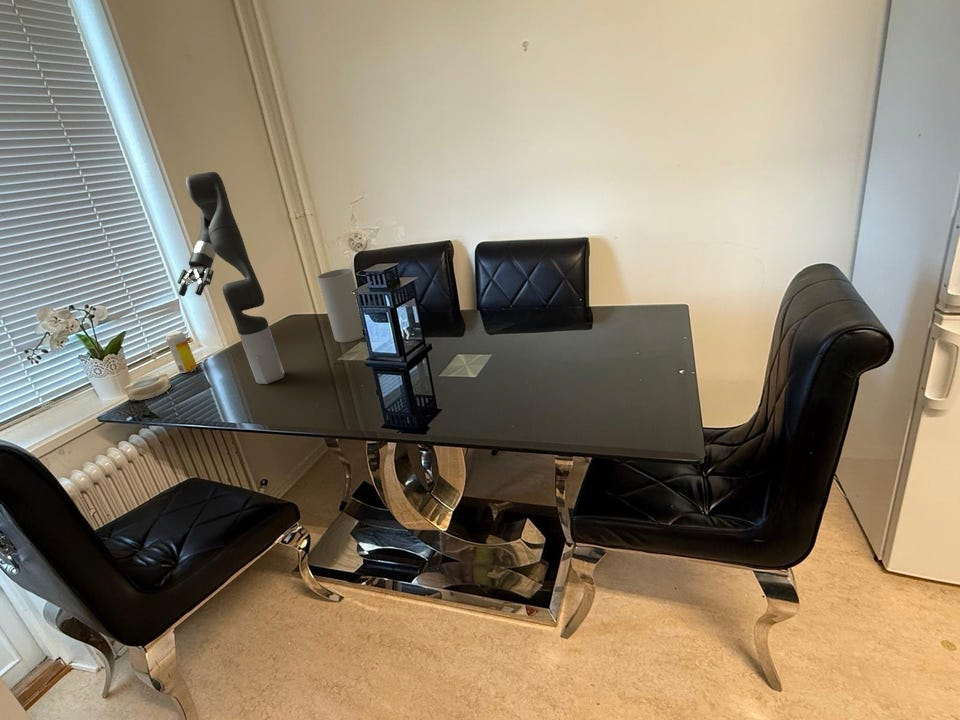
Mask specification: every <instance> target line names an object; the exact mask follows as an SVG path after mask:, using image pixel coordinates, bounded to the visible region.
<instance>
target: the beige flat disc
mask: <svg viewBox="0 0 960 720" xmlns="http://www.w3.org/2000/svg"><path fill="white" fill-rule="evenodd" d="M171 382H172V381H171V380H170V378H169V376H168V374H166V373H156V374H150V375H147V376H144V377H141V378H139V379H136V380H134V381H132V382H130V383H129V384H128V385H126V386H125V387H124V390H125V393H126V395H127V397H128V399H129V401H130V400H133V399H135V400H143V399H148V398H152V397H155V396H157V395H159V394H162V393H164V392H165V391H167V390H168V389H169V388H170V387H171V385H172V386H173V384H172V383H171ZM167 392H168V391H167ZM164 394H165V393H164ZM162 395H163V394H162ZM157 397H158V396H157ZM155 398H156V397H155ZM152 399H153V398H152Z"/></svg>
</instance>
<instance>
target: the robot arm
mask: <svg viewBox="0 0 960 720" xmlns="http://www.w3.org/2000/svg"><path fill="white" fill-rule="evenodd" d="M185 186H186V189H187V192H188V194H189V197H190V198H191V201H192V202H193V203H194V204H195V205H196V206H197V207H198V208H199V209H200V210H201V213H200V232H199V234H198V238H197V239H196V243H195V245H194V247H193V249H192V252H191V255H190V258H189V261H188V265H189V269H188V270H186V269H183V268H182V270H181V272H180V276H179V278H178V280H177V282H176V283H177V284H178V285H180V287H179V290H178V295H180V297H185V296H186V295H187V291H188V287H189V286H190V285H192V284H194V283H195V282H197V283H198V284H197V286H196V289H195V291H194V294H195V295H197V296H202V294H203V293H204V289H205V287H207V286H210V285H211V283H212V279H213V275H214V273H215V272H214V270H213V269H212V266H213V263H214V260H215V257H216V255H218V257H219V258H221V259H222V260H223V261H225V262H226V263H228V264H229V265H230V266H232V267H234V268H235V269H236V270H237V271H238V272H239V273H240V274H241V275H242V276H243V277H244V279H240V280H236V281H231V282H227V283H225V284H223V286H222V292H223V293H222V294H223V296H224V300H225V302H226V305H227V306H228V307H227V308H228V309H229V311H230V314H231V316H232V318H233V321H234V324H235V326H236V330H237V333H238V336H239V338H240V341H241V344H242V346H243V350H244V353H245V355H246V359H247V360H248V361H247V362H248V364H249V366H250V369H251V371H252V374H253V377H254V380H255V382H256V383H257V384H260V385H261V384H263V385H268V384H270V383H273V382H275V381H278V380H280V379H284V377H285V371H284V367H283V364H282V361H281V358H280V355H279V353H278V350H277V346H276V344H275V340H274V337H273V335H272V331H271V329H270V325H269V322H268V320H267V318H266V317H264V316H258V315H249V314H246V313H244V311H247V310H252V309H254V308H259V307H262V306H263V305H264V303H265V295H264V292H263V289H262V286H261V284H260V282H259V280H258V277H257V275H256V273H255V270H254V268H253V265H252V264H251V261H250V258H249V256H248V252H247V248H246V245H245V242H244V240H243V239H244V238H243V237H242V234H241V231H240V229H239V226H238V223H237V221H236V219H235V216H234V214H233V211H232V207H231V205H230V201H229V197H228V194H227V190H226V187H225V184H224V181H223V179H222V177H221V176H220V174H219V173H218V172H216V171H207V172H202V173H197V174H192V175H189V176H187V177H186V179H185Z"/></svg>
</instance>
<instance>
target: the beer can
mask: <svg viewBox="0 0 960 720" xmlns="http://www.w3.org/2000/svg"><path fill="white" fill-rule="evenodd" d="M165 341H166V342H167V345H168V348H169V351H170V352H171V355H172V357H173V359H174V362H175V364H176V367H177V369H178V371H179V373H180V374H182V373H185V372H188V371H191V370H193V369H195V368H196V367H197V368H198V365H197V364H198V363H197V362H196V360H195V357H194V354H193V351H192V349H191V347H190V345H189V342H188V340H187V337H186V335H185V333H184V331H182V330H176V331H172V332H170V333H167V334H166V335H165Z"/></svg>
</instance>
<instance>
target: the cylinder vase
mask: <svg viewBox="0 0 960 720" xmlns="http://www.w3.org/2000/svg"><path fill="white" fill-rule="evenodd" d="M316 279H317V282H318V284H319V285H318V286H319V289H320V292H321V296H322V299H323V302H324V306H325V309H326V310H325V311H326V313H327V316H328V320H329V322H330V328H331V330H332V334H333V337H334V341H335V342H337V343H341V344H342V343H344V344H345V343H352V342H355V341H358V340H361V339H362V338H364V337H365V336H364V335H363V331H362V326H361V319H360V314H359V311H358V307H357V302H356V296H355V294H353V293H351V292H352V291H354V290H355V289H357V285H356V280H355V278H354V273H353V271H352V268H341V269H335V270H330V271H326V272H324V273H322V274H319V275H317V276H316Z"/></svg>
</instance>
